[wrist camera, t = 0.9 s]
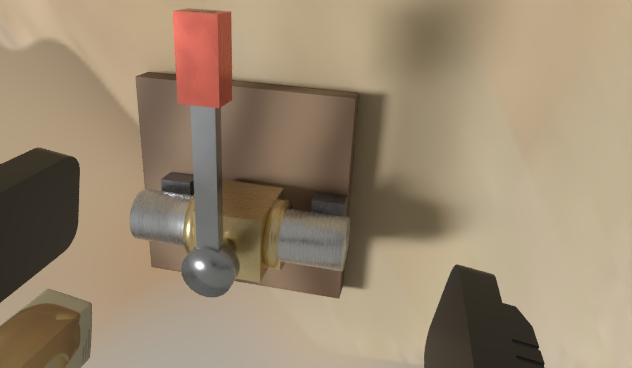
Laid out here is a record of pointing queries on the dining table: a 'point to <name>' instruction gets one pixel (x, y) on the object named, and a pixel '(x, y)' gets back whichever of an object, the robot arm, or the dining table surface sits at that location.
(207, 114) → the lever
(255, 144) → the mounting board
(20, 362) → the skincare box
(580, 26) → the dining table surface
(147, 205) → the valve
